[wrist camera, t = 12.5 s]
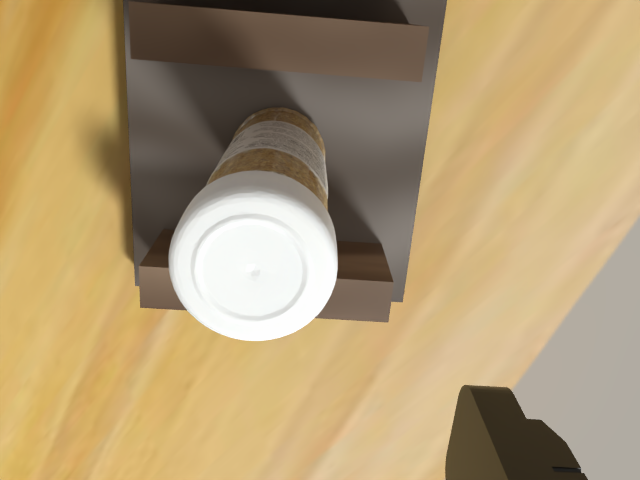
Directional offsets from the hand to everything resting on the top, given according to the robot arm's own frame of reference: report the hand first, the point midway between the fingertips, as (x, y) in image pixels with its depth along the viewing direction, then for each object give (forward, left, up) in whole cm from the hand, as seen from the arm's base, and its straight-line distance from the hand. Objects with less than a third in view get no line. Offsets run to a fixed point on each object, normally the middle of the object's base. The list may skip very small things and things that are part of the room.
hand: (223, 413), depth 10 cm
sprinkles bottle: (0, 0, -19) cm, 19 cm away
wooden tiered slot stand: (0, 0, -21) cm, 21 cm away
